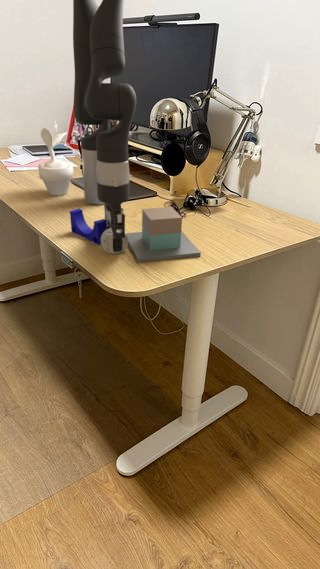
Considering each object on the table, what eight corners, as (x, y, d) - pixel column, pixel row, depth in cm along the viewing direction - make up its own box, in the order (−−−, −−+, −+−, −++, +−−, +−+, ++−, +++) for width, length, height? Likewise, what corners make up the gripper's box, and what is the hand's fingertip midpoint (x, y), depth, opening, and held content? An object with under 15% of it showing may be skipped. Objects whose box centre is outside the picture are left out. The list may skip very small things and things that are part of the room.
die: (100, 250, 100) (99, 232, 98) (113, 244, 104) (112, 226, 101) (116, 255, 98) (115, 237, 95) (128, 249, 102) (128, 230, 99)
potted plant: (56, 200, 133) (48, 120, 120) (34, 193, 139) (24, 116, 126) (84, 192, 142) (79, 117, 129) (62, 186, 148) (55, 113, 135)
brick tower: (124, 236, 108) (123, 204, 104) (179, 232, 112) (181, 201, 108) (138, 262, 95) (138, 227, 91) (200, 256, 99) (203, 222, 95)
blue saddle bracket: (112, 240, 106) (111, 219, 103) (98, 244, 103) (97, 223, 100) (84, 227, 113) (83, 207, 110) (71, 231, 110) (69, 211, 107)
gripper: (92, 172, 97) (95, 235, 105) (102, 189, 85) (104, 258, 93) (122, 170, 99) (123, 232, 107) (136, 187, 87) (135, 255, 95)
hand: (114, 244), depth 100 cm, fingers closed on die, 7 cm apart
